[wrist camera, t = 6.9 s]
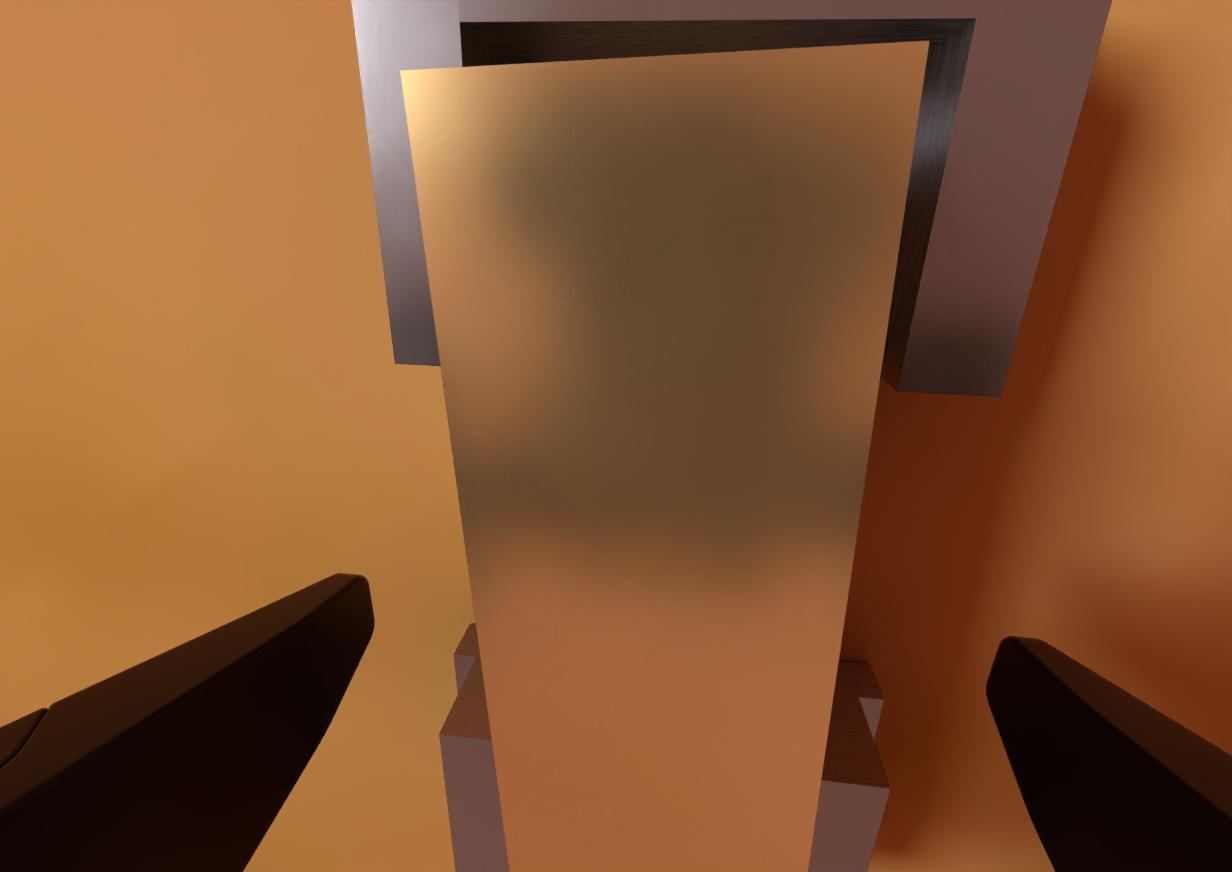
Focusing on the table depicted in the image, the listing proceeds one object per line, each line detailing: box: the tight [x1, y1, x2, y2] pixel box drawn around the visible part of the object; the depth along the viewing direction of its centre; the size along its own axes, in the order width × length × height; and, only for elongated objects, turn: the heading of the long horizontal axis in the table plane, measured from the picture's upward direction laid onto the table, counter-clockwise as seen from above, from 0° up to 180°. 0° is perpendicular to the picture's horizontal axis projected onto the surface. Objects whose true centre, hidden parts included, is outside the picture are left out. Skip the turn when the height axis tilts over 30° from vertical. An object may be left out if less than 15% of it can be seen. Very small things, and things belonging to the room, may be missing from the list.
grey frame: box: [351, 0, 1112, 872], centre depth 10 cm, size 17×9×3 cm, turn 179°
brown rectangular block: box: [400, 41, 929, 872], centre depth 8 cm, size 13×4×5 cm, turn 1°
